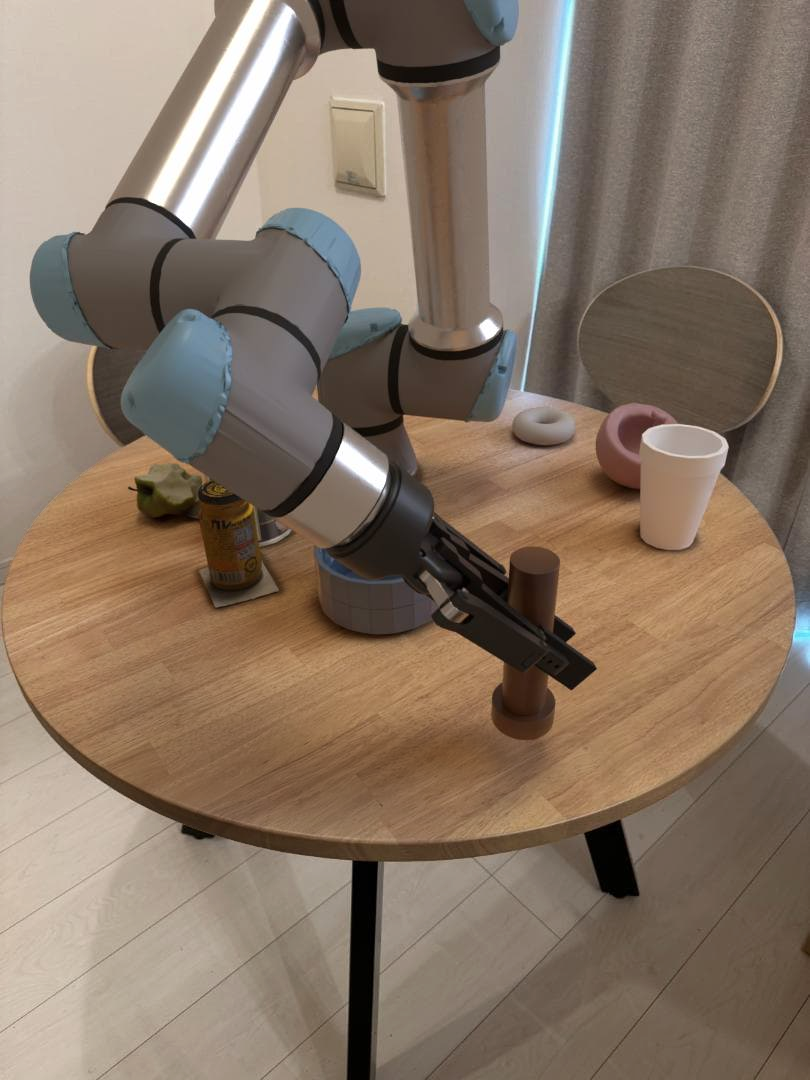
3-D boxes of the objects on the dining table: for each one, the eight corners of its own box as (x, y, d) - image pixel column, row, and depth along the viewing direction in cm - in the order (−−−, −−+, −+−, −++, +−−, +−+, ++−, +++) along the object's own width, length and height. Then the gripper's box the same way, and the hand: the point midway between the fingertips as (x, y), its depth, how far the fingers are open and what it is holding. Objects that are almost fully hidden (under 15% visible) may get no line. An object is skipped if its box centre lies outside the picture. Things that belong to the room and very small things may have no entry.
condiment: (258, 555, 90) (244, 467, 84) (279, 591, 84) (266, 499, 77) (198, 571, 88) (179, 482, 81) (215, 610, 81) (196, 516, 75)
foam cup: (710, 560, 87) (734, 461, 80) (629, 553, 88) (645, 455, 82) (700, 520, 95) (720, 426, 88) (625, 514, 96) (640, 421, 89)
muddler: (487, 695, 64) (494, 541, 56) (547, 693, 64) (563, 539, 56) (494, 741, 60) (503, 581, 51) (558, 739, 60) (578, 579, 51)
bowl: (325, 563, 88) (320, 513, 85) (443, 560, 88) (443, 509, 85) (314, 640, 76) (308, 585, 73) (451, 636, 76) (452, 581, 73)
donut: (515, 450, 114) (580, 448, 113) (516, 430, 112) (582, 427, 112) (508, 424, 122) (569, 422, 122) (509, 405, 120) (570, 402, 120)
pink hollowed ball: (627, 512, 97) (639, 431, 91) (574, 474, 106) (582, 399, 100) (698, 492, 101) (715, 414, 95) (641, 458, 110) (653, 385, 104)
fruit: (152, 543, 96) (125, 490, 92) (144, 516, 103) (119, 466, 99) (219, 515, 98) (196, 462, 94) (206, 491, 106) (184, 441, 101)
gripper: (308, 485, 56) (507, 624, 67) (331, 620, 42) (577, 766, 54) (374, 413, 54) (568, 569, 65) (420, 530, 40) (656, 702, 51)
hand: (571, 658), depth 59 cm, fingers closed on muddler, 4 cm apart
